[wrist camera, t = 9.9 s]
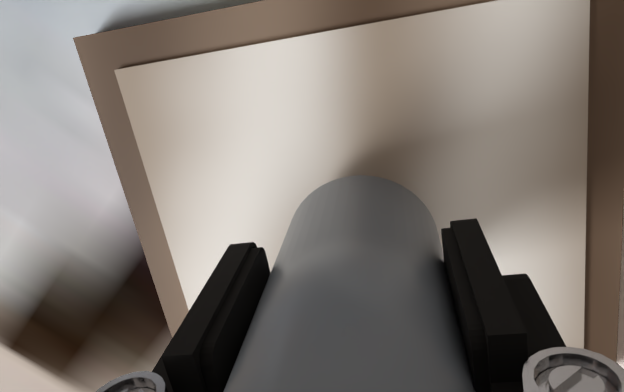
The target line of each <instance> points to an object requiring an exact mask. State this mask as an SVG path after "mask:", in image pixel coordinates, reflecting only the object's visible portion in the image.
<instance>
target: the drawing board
mask: <svg viewBox="0 0 624 392" xmlns="http://www.w3.org/2000/svg"><path fill="white" fill-rule="evenodd" d="M73 39H74V42H75V45H76V48H77V51H78V54H79V57H80V60H81V63H82V66H83V69H84V72H85V75H86V79H87V82H88V85H89V88H90V91H91V94H92V97H93V100H94V103H95V106H96V109H97V112H98V115H99V118H100V121H101V124H102V127H103V130H104V133H105V136H106V139H107V142H108V145H109V148H110V151H111V154H112V157H113V160H114V163H115V166H116V169H117V172H118V175H119V178H120V181H121V184H122V187H123V190H124V193H125V196H126V199H127V202H128V205H129V208H130V211H131V214H132V217H133V221H134V224H135V227H136V230H137V233H138V236H139V239H140V242H141V245H142V248H143V251H144V254H145V257H146V260H147V263H148V266H149V269H150V272H151V275H152V278H153V281H154V284H155V287H156V290H157V293H158V296H159V299H160V302H161V305H162V308H163V311H164V314H165V317H166V320H167V323H168V326H169V329H170V332H171V335H172V338H173V336H174V335H175V333H176V331H177V330H178V328H179V327H180V325H181V323H182V322H183V320H184V318H185V317H186V315H187V313H188V312H189V310H190V308H191V307H192V305H193V304H194V302H195V300H196V299H197V297H198V295H199V294H200V292H201V290H202V289H203V287H204V286H205V284H206V282H207V281H208V279H209V277H210V276H211V274H212V272H213V271H214V269H215V268H216V266H217V264H218V263H219V261H220V259H221V258H222V256H223V254H224V253H225V251H226V249H227V248H228V246H229V245H230V244H238V243H248V242H254V243H255V244H256V246H257V248H258V247H263V248H264V250H265V252H266V256H267V260H268V264H269V269H270V273H271V271H272V268H273V266H274V263H275V261H276V258H277V256H278V253H279V251H280V248H281V246H282V243H283V241H284V238H285V235H286V233H287V230H288V228H289V225H290V223H291V220H292V218H293V216H294V214H295V212H296V210H297V208H298V207H299V205H300V204H301V203H302V202H303V200H304V199H305V198H306V197H307V196H308V195H309V194H311V193H312V192H313V191H314V190H316V189H317V188H319V187H320V186H322V185H324V184H326V183H328V182H330V181H332V180H336V179H339V178H342V177H348V176H357V175H366V176H375V177H381V178H384V179H388V180H391V181H393V182H396V183H398V184H400V185H402V186H403V187H405V188H407V189H408V190H410V191H411V192H412V193H414V194H415V195H416V196H417V197H418V198H419V199H420V200H421V201H422V202H423V203H424V204H425V206H426V207H427V209H428V210H429V211H430V213H431V215H432V217H433V219H434V221H435V224H436V227H437V230H438V234H439V238H440V243H441V247H442V251H443V246H442V235H441V229H442V228H450V221H456V220H465V219H475V218H477V220H478V222H479V225H480V227H481V229H482V231H483V234H484V236H485V238H486V241H487V243H488V245H489V247H490V250H491V252H492V254H493V256H494V259H495V261H496V263H497V266H498V268H499V270H500V272H501V275H513V274H524V273H525V274H527V275H528V276H529V278H530V280H531V281H532V283H533V285H534V287H535V289H536V291H537V293H538V294H539V296H540V298H541V300H542V302H543V304H544V306H545V308H546V309H547V311H548V313H549V315H550V317H551V319H552V321H553V323H554V324H555V326H556V328H557V330H558V332H559V334H560V336H561V337H562V339H563V341H564V343H565V345H566V347H574V348H581V349H587V350H590V351H593V352H596V353H599V354H602V355H603V356H605V357H607V358H609V359H611V360H613V361H615V362H616V357H617V336H618V314H619V292H620V270H621V249H622V227H623V205H624V0H263V1H257V2H252V3H247V4H242V5H237V6H232V7H227V8H222V9H217V10H212V11H207V12H202V13H197V14H192V15H187V16H182V17H177V18H171V19H166V20H161V21H156V22H151V23H146V24H141V25H136V26H131V27H126V28H121V29H116V30H111V31H106V32H101V33H96V34H91V35H86V36H80V37H75V38H73Z"/></svg>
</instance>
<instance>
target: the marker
mask: <svg viewBox="0 0 624 392" xmlns="http://www.w3.org/2000/svg"><path fill="white" fill-rule="evenodd" d="M224 392H476V391H475V388H474V384H473V379H472V375H471V371H470V367H469V363H468V359H467V355H466V351H465V346H464V342H463V338H462V334H461V330H460V326H459V322H458V318H457V314H456V309H455V305H454V301H453V297H452V293H451V289H450V285H449V281H448V276H447V272H446V268H445V264H444V256H443V251H442V247H441V243H440V238H439V234H438V230H437V227H436V224H435V221H434V219H433V217H432V215H431V213H430V211H429V210H428V209H427V207H426V206H425V204H424V203H423V202H422V201H421V200H420V199H419V198H418V197H417V196H416V195H415V194H414V193H412V192H411V191H410V190H408V189H407V188H405V187H403V186H402V185H400V184H398V183H396V182H393V181H391V180H388V179H384V178H381V177H375V176H366V175H357V176H348V177H342V178H339V179H336V180H332V181H330V182H328V183H326V184H324V185H322V186H320V187H319V188H317V189H316V190H314V191H313V192H312V193H311V194H309V195H308V196H307V197H306V198H305V199H304V200H303V202H302V203H301V204H300V205H299V207H298V208H297V210H296V212H295V214H294V216H293V218H292V220H291V223H290V225H289V228H288V230H287V233H286V235H285V238H284V241H283V243H282V246H281V248H280V251H279V253H278V256H277V258H276V261H275V263H274V266H273V268H272V271H271V273H270V276H269V278H268V281H267V283H266V286H265V288H264V291H263V293H262V296H261V298H260V301H259V303H258V306H257V308H256V311H255V314H254V316H253V319H252V321H251V324H250V326H249V329H248V331H247V334H246V336H245V339H244V341H243V344H242V346H241V349H240V351H239V354H238V356H237V359H236V361H235V364H234V366H233V369H232V371H231V374H230V376H229V379H228V381H227V384H226V387H225V389H224Z"/></svg>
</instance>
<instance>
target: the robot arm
mask: <svg viewBox="0 0 624 392" xmlns="http://www.w3.org/2000/svg"><path fill="white" fill-rule="evenodd" d="M441 235H442V246H443V256H444V264H445V268H446V272H447V276H448V281H449V285H450V289H451V293H452V297H453V301H454V305H455V309H456V314H457V318H458V322H459V326H460V330H461V334H462V338H463V342H464V346H465V351H466V355H467V359H468V363H469V367H470V371H471V375H472V379H473V384H474V388H475V391H476V392H624V369H623V368H622V367H621V366H620V365H618V364H617V363H616V362H615V361H613V360H611V359H609V358H607V357H605V356H603V355H602V354H599V353H596V352H593V351H590V350H587V349H581V348H574V347H566V345H565V343H564V341H563V339H562V337H561V336H560V334H559V332H558V330H557V328H556V326H555V324H554V323H553V321H552V319H551V317H550V315H549V313H548V311H547V309H546V308H545V306H544V304H543V302H542V300H541V298H540V296H539V294H538V293H537V291H536V289H535V287H534V285H533V283H532V281H531V280H530V278H529V276H528V275H527V274H525V273H524V274H513V275H501V272H500V270H499V268H498V266H497V263H496V261H495V259H494V256H493V254H492V252H491V250H490V247H489V245H488V243H487V241H486V238H485V236H484V234H483V231H482V229H481V227H480V225H479V222H478V220H477V218H475V219H465V220H456V221H450V228H442V229H441ZM269 276H270V269H269V264H268V260H267V256H266V252H265V250H264V248H263V247H258V248H257V246H256V244H255V243H254V242H248V243H238V244H230V245H229V246H228V248H227V249H226V251H225V253H224V254H223V256H222V258H221V259H220V261H219V263H218V264H217V266H216V268H215V269H214V271H213V272H212V274H211V276H210V277H209V279H208V281H207V282H206V284H205V286H204V287H203V289H202V290H201V292H200V294H199V295H198V297H197V299H196V300H195V302H194V304H193V305H192V307H191V308H190V310H189V312H188V313H187V315H186V317H185V318H184V320H183V322H182V323H181V325H180V327H179V328H178V330H177V331H176V333H175V335H174V336H173V338H172V340H171V341H170V343H169V345H168V346H167V348H166V349H165V351H164V353H163V354H162V356H161V358H160V359H159V361H158V363H157V364H156V366H155V368H154V369H153V371H152V372H148V371H142V372H133V373H130V374H126V375H123V376H120V377H118V378H116V379H114V380H112V381H110V382H108V383H107V384H105V385H104V386H102V387H101V388H99V389H98V390H97V391H96V392H224V389H225V387H226V384H227V381H228V379H229V376H230V374H231V371H232V369H233V366H234V364H235V361H236V359H237V356H238V354H239V351H240V349H241V346H242V344H243V341H244V339H245V336H246V334H247V331H248V329H249V326H250V324H251V321H252V319H253V316H254V314H255V311H256V308H257V306H258V303H259V301H260V298H261V296H262V293H263V291H264V288H265V286H266V283H267V281H268V278H269Z"/></svg>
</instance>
